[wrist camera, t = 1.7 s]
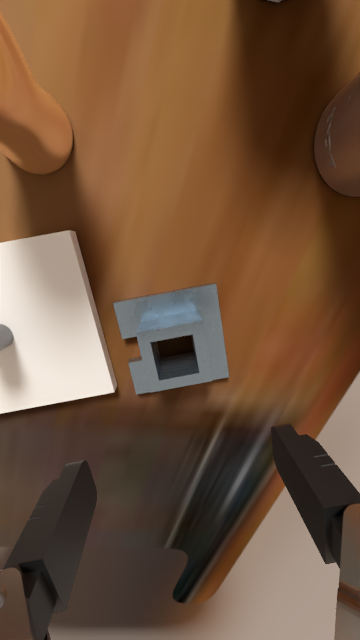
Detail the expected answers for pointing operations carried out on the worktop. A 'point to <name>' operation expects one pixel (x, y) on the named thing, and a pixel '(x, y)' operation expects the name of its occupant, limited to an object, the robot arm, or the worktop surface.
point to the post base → (49, 325)
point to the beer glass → (29, 114)
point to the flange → (170, 322)
